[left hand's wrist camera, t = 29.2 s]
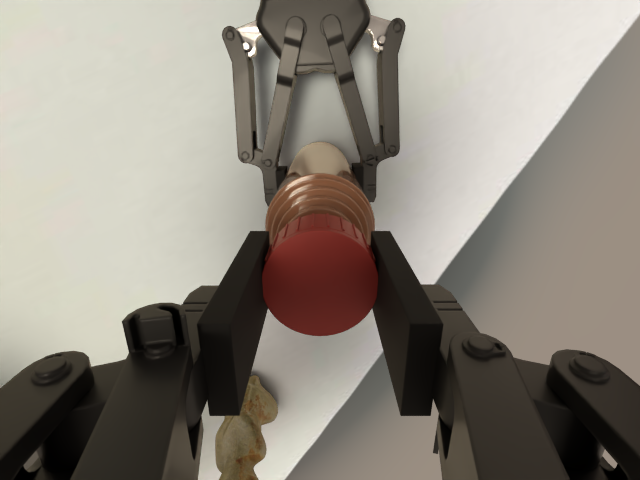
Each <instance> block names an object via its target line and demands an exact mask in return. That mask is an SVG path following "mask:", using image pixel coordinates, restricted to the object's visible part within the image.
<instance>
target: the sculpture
mask: <svg viewBox="0 0 640 480" xmlns="http://www.w3.org/2000/svg"><path fill="white" fill-rule="evenodd" d="M277 413H278V408H277V404H276V401H275V400H274V398H273V397H272V396H271V394H270V393H269V392H268V391H266V390H265V389H264V388H263V387H262V386H261V384H260V379H259V377H258V376H256V375H254V376H251V377H250V378H249V382H248V385H247V389H246V393H245V397H244V401H243V404H242V408H241V412H240V416H225V419H224V422H223V423H222V425H221V427H220V428H219V430H218V432H217V434H216V440H215V451H216V465H217V468H218V469H219V471H220V472H221V473H222V475H221V477H220V479H219V480H258V478H257V476H256V474H255V472H254V470H253V468H254V466H255V465H256V464H257V463H258V462H260V461H261V460H262V459H263V458H264V457H265V455H266V444H265V441H264V438H263V435H262V433H261V425H264V424H267V423H270V422H272V421H274V419H275V418H276V416H277Z"/></svg>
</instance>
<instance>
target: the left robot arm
mask: <svg viewBox="0 0 640 480" xmlns="http://www.w3.org/2000/svg"><path fill="white" fill-rule="evenodd" d="M370 246H371V249H372V252H373V254H374V257H375V260H376V262H375V265H376V268H377V271H378V287H377V298H376V301H375V303H374V305H373V307H372V309H373V312H374V316H375V320H376V324H377V328H378V331H379V335H380V339H381V343H382V347H383V350H384V354H385V358H386V362H387V366H388V369H389V373H390V377H391V381H392V385H393V388H394V392H395V396H396V400H397V403H398V407H399V411H400V415H401V416H430V415H431V409H432V402H433V399H434V402H435V404H436V407H437V409H438V412H439V417H438V423H437V430H436V436H435V443H434V450H433V453H436V454H438V450H439V454H440V463H441V471H442V480H640V386H639V385H638V384H637V383H635V382H634V381H633V380H632V379H631V378H630V377H628V376H627V375H626V374H625V373H623V372H622V371H621V370H620V369H619V368H617V367H616V366H614V365H613V364H611V363H610V362H608V361H606V360H604V359H602V358H600V357H598V356H596V355H594V354H591V353H586V352H584V351H578V350H561V351H557V352H556V353H554V354H553V355H552V358H551V362H550V365H544V364H540V363H535V362H530V361H525V360H521V359H517V358H513V356H512V354H511V352H510V350H509V349H508V348H507V347H506V345H504V344H503V343H502V342H500V341H499V340H497V339H496V338H493V337H491V336H489V335H486V334H482V333H480V332H479V331H478V330H477V328H476V327H475V325H474V324H473V323H472V321H471V320H470V318H469V317H468V316H467V314H466V313H465V312H464V311H463V310H462V307H461V306H460V305H459V303H457V300H456V299H455V298H454V296H453V295H452V293H451V292H449V291H448V290H446V289H445V288H443V287H442V286H440V285H421V284H420V282H419V281H418V279H417V277H416V275H415V274H414V272H413V270H412V269H411V267H410V265H409V263H408V262H407V260H406V258H405V256H404V255H403V253H402V251H401V250H400V248H399V246H398V244H397V243H396V241H395V239H394V237H393V236H392V234H391V232H390V231H371V242H370ZM269 247H270V238H269V231H250V233H249V234H248V236H247V238H246V240H245V241H244V243H243V245H242V246H241V248H240V250H239V252H238V253H237V255H236V257H235V259H234V260H233V262H232V264H231V266H230V267H229V269H228V271H227V272H226V274H225V276H224V278H223V279H222V281H221V283H220V285H219V286H200V287H199V288H197V289H196V290H194V291H193V292H191V293H190V294H189V295H188V297H187V298H186V299H185V301H184V302H183V304H182V305H178V304H174V303H157V304H152V305H148V306H145V307H142V308H139V309H137V310H135V311H134V312H132V313H130V314H129V315H127V316H126V318H125V319H124V320H123V321H122V323H123V328H124V332H125V337H126V341H127V345H128V350H129V354H128V356H127V358H126V359H125V360H122V361H118V362H113V363H108V364H103V365H98V366H93V367H91V364H90V360H89V357H88V356H87V355H86V354H84V353H83V352H77V351H69V352H60V353H55V354H52V355H49V356H46V357H44V358H42V359H40V360H38V361H36V362H34V363H32V364H31V365H29V366H28V367H26V368H25V369H23V370H22V371H21V372H19V373H18V374H17V375H16V376H15V377H13V378H12V379H11V380H10V381H9V382H7V383H6V384H5V385H4V386H3V387H2V388H0V480H198V472H199V464H200V455H201V447H202V438H203V423H202V417H201V415H202V412H203V409H204V407H205V404H206V402H207V400H208V407H209V414H210V416H240V412H241V408H242V404H243V401H244V397H245V393H246V389H247V385H248V382H249V378H250V374H251V370H252V366H253V363H254V359H255V355H256V351H257V347H258V344H259V340H260V336H261V332H262V328H263V325H264V321H265V317H266V313H267V310H268V307H267V305H266V303H265V301H264V298H263V284H262V272H263V268H264V265H265V262H266V261H264V260H265V257H266V255H267V252H268V249H269ZM605 449H606V451H607V452H608V453H609V454H610V455H611V456H612V457H613V459H614V460H615V461H616V462H617V463H618V464H617V466H616V468H615V469H614V468H613V467H612V466H611V465H610V464H609V463H608V462H607V461H606V460H605V459H604V458H603V457H602V455H603V452H604V450H605Z"/></svg>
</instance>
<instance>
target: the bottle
mask: <svg viewBox="0 0 640 480" xmlns="http://www.w3.org/2000/svg"><path fill="white" fill-rule="evenodd" d="M312 213H314V214H326V213H329V215H333V216H337V217H343V219H344V220H346V221H348V222H350V223H351V224H355V227H356V228H357V229H358V230H359V231H360V232H361V233H364V235H365V238H366V241H367V243H368V245H369V244H370V242H371V231H374V229H375V221H374V214H373V211H372V208H371V205H370V203H369V201H368V199H367V197H366V195H365V194H364V192H363V190H362V188H361V186H360V184H359V182H358V181H357V179H356V177H355V175H354V173H353V171H352V169H351V168H350V166H349V164H348V162H347V160H346V158H345V156H344V155H343V153H342V152H341V151H340V150H339V149H338V148H337V147H335V146H334V145H332V144H329V143H326V142H314V143H311V144H308V145H306V146H305V147H303V148H302V149H301V150H300V151H299V152H298V153H297V155H296V156H295V158H294V160H293V162H292V164H291V166H290V168H289V169H288V171H287V173H286V175H285V177H284V179H283V181H282V183H281V184H280V186H279V188H278V190H277V192H276V194H275V196H274V197H273V199H272V201H271V203H270V206H269V208H268V211H267V215H266V222H265V228H266V231H269V238H270V244H272V243H273V241H274V239H275V236H276V234H277V233H279V232H280V231H281V230H282V229H283V228H284V227H285V226H286V224H287V223H288V224H289V223H291V222H292V221H294V220H296V219H298V217H303V216H307V215H312Z"/></svg>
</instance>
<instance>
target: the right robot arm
mask: <svg viewBox="0 0 640 480" xmlns="http://www.w3.org/2000/svg"><path fill="white" fill-rule="evenodd" d="M404 31H405V22H404V21H403V20H402V19H400V18H395V19H393V20H392V21H389V20H385V19H382V18H379V17H375V16H372V15H370V10H369V8H368V6H367V4H366V1H365V0H261V2H260V7H259V10H258V12H257V15H256V21H253V22H251V23H248V24H246V25H244V26H241V27H239V28H236V29H235V28H234V27H232V26H227V27H226V28H224V30H223V32H222V37H223V40H224V43H225V45H226V48H227V50H228V53H229V56H230V58H231V61H232V68H233V83H234V99H235V115H236V130H237V146H238V157H239V159H240V161H241V162H243V163H250V164H253V165H256V166H258V167H259V168H260V169H261V170H262V173H263V181H264V191H265V201H266V203H267V205H268V206H270V203H271V201H272V199H273V197H274V196H275V194H276V192H277V190H278V188H279V186H280V184H281V183H282V181H283V179H284V177H285V175H286V173H287V171H288V170H287V166H279V167H278V162H279V156H280V152H281V147H282V142H283V138H284V133H285V128H286V124H287V119H288V114H289V110H290V105H291V101H292V96H293V91H294V87H295V84H296V80H297V75H298V74H307V73H310V72H313V71H319V72H323V73H334V76H335V79H336V82H337V85H338V87H339V91H340V94H341V97H342V100H343V104H344V107H345V110H346V113H347V117H348V120H349V123H350V126H351V130H352V133H353V136H354V139H355V143H356V146H357V149H358V152H359V156H360V163H352V171H353V173H354V175H355V177H356V179H357V181H358V182H359V184H360V186H361V188H362V190H363V192H364V194H365V195H366V197H367V199H368V201H369V202H374V200H375V198H376V168H377V165H378V163H379V162H380V161H382V160H384V159H386V158H389V157H394V156H396V155H397V154H398V153H399V149H400V143H399V95H398V52H399V48H400V45H401V42H402V38H403V35H404ZM365 32H366V33H368V34H369V35H370V37H371V46H372V48H373V50H374V51H376V52H378V57H377V82H378V107H379V132H380V143H378V144H376V145H374V143H373V140H372V136H371V133H370V130H369V126H368V123H367V119H366V116H365V112H364V109H363V105H362V102H361V99H360V95H359V92H358V88H357V85H356V81H355V78H354V72H353V68H352V65H351V61H350V58H349V57H350V55H351V54H352V52H353V51H354V49H355V47H356V46H357V44H358V43H359V41H360V39H361V38H362V36H363V34H364V33H365ZM262 37H263V38H264V39H265V41H266V42H267V43H268V45H269V46H270V47H271V49H272V50H273V51H274V53H275V54H276V55H277V57H278V58H279V59H280V64H279V69H278V74H277V83H276V88H275V93H274V98H273V103H272V108H271V113H270V118H269V123H268V128H267V133H266V138H265V143H264V148H263V150H261V149H258V148H257V126H256V104H255V82H254V67H253V62H252V58H253V57H255V56H256V54H257V51H258V49H257V43H258V40H259V39H260V38H262Z"/></svg>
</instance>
